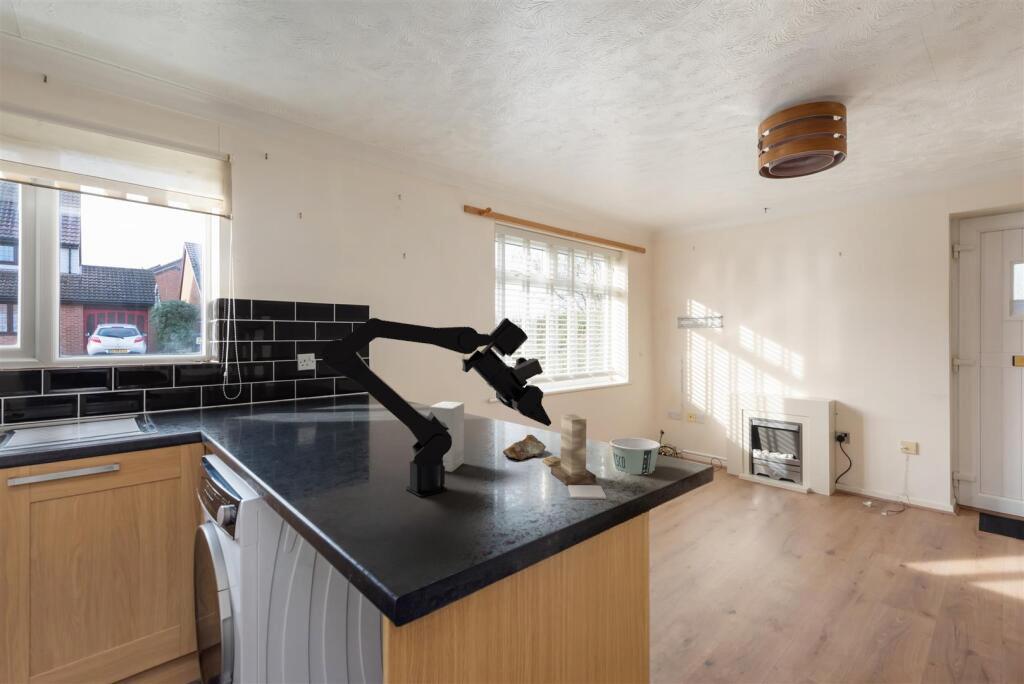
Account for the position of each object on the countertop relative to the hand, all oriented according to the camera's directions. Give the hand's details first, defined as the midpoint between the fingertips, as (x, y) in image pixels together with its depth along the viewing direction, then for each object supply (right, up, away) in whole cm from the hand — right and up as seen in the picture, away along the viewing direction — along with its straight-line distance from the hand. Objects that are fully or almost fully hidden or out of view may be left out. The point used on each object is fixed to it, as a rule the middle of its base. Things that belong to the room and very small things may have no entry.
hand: (542, 420), depth 104 cm
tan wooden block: (+7, -13, +2) cm, 15 cm away
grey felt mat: (+9, -14, -8) cm, 18 cm away
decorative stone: (-4, -14, +22) cm, 26 cm away
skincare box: (-23, -13, +11) cm, 29 cm away
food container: (+23, -14, +10) cm, 29 cm away
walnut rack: (+7, -13, +2) cm, 15 cm away
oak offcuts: (+4, -13, +14) cm, 20 cm away
